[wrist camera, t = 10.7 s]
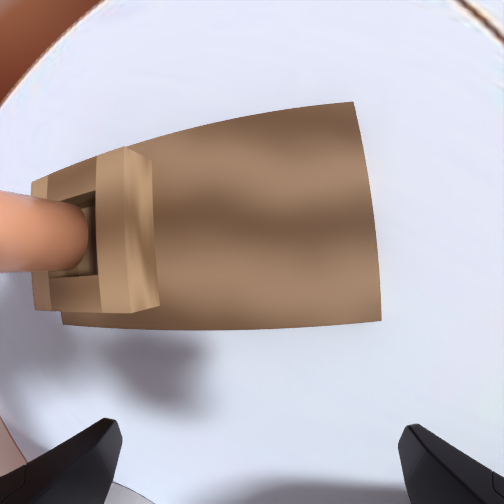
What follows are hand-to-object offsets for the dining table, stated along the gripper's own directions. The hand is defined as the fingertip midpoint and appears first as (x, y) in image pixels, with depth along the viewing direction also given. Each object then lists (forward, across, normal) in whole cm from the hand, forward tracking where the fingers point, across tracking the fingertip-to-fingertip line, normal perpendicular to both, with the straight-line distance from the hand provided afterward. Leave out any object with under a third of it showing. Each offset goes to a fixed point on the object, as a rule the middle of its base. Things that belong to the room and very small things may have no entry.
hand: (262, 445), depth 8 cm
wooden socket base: (+13, +5, -4) cm, 14 cm away
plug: (+9, +12, -4) cm, 16 cm away
